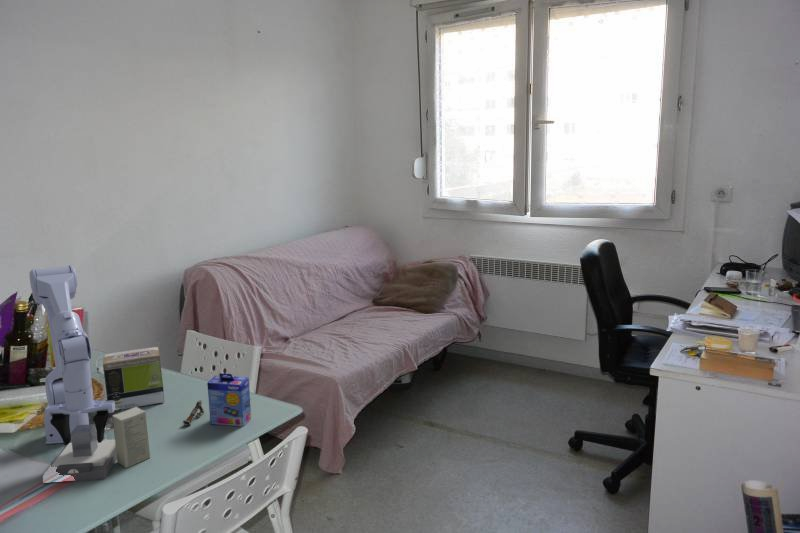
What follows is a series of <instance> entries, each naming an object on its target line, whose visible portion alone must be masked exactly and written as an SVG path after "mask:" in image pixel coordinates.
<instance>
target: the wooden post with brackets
mask: <svg viewBox="0 0 800 533" xmlns="http://www.w3.org/2000/svg"><path fill="white" fill-rule="evenodd" d="M202 405H203V402H202V400H198V401H197V402H196V404H195V407H194V408H193V409H192V410H191V412H190V414H189V416H188V417H187V418H186V419H183V420H182V423H183V425H184V426H192V424H191V423H192V420H193V418H194V417H195V420H197V419H200V417H202V414H205V410H204V408H203V406H202ZM198 410H199V412H198Z"/></svg>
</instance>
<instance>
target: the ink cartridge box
mask: <svg viewBox="0 0 800 533" xmlns="http://www.w3.org/2000/svg"><path fill="white" fill-rule="evenodd" d="M206 386H207V395H208V409H209V410H208V411H209V423H210V425H218V426H230V427H231V426H233V427H245V426H246V425H247V424H248V423H249V421H251V419H252V408H251V407H252V406H251V395H250V394H251V392H250V379H249V377H245V376H233V374H232V373H218V375H214V376H213V377H212V378H211V379H209V380H208V381H207V384H206Z"/></svg>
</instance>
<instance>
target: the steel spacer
mask: <svg viewBox="0 0 800 533" xmlns="http://www.w3.org/2000/svg"><path fill="white" fill-rule="evenodd" d="M71 441H72V442H71V443H72V449H73V457H82V456H92V455H93V453H94V452H95V451H96V449H97V448H98V445H97V431H96V427H95V423H93V424H92V423H89V425H77V426H76V427H75V428H74V430H73V431H72V432H71Z"/></svg>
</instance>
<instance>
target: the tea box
mask: <svg viewBox="0 0 800 533" xmlns="http://www.w3.org/2000/svg"><path fill="white" fill-rule="evenodd" d="M159 350H160V349H159V346H150V347H142V348H135V349H129V350H122V351H115V352H114V351H113V352H109V353H104V354H103V360H102V361H103V362H102V370H103V375H104V385H105V393H106V402H115V407H118V408H120V409H121V410H120V411H122V410H125V409H126V410H129V409H131V408H134V407H138V408H140V407H145V406H149V405H155V404H162V403H166V402H165V393H164V391H165V390H164V383H163V373H162V363H161V356H160V351H159Z"/></svg>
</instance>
